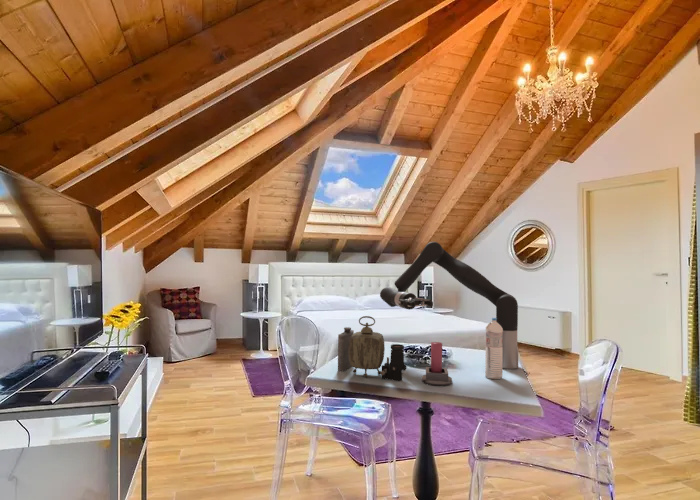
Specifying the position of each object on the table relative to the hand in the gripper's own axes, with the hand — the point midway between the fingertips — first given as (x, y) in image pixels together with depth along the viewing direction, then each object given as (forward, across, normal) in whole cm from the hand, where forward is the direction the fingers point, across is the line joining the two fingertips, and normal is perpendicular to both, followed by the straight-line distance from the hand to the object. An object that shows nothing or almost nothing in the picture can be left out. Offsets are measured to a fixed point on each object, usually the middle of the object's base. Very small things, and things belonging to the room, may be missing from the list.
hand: (423, 304), depth 180 cm
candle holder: (+11, 0, +30) cm, 32 cm away
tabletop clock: (-5, -24, +30) cm, 39 cm away
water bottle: (+14, +26, +30) cm, 42 cm away
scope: (+3, -15, +30) cm, 34 cm away
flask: (-20, -28, +30) cm, 45 cm away
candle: (+11, 0, +28) cm, 31 cm away
